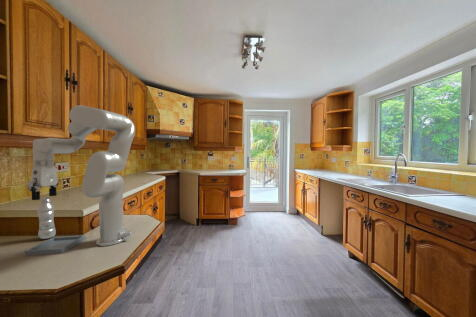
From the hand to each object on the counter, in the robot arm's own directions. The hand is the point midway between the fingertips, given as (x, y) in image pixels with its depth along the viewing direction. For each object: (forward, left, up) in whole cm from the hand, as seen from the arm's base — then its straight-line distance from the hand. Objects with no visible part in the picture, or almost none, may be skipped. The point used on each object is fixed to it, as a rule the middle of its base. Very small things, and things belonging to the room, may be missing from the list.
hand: (44, 197), depth 102 cm
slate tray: (-15, +12, -20) cm, 28 cm away
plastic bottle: (-1, 0, -21) cm, 21 cm away
